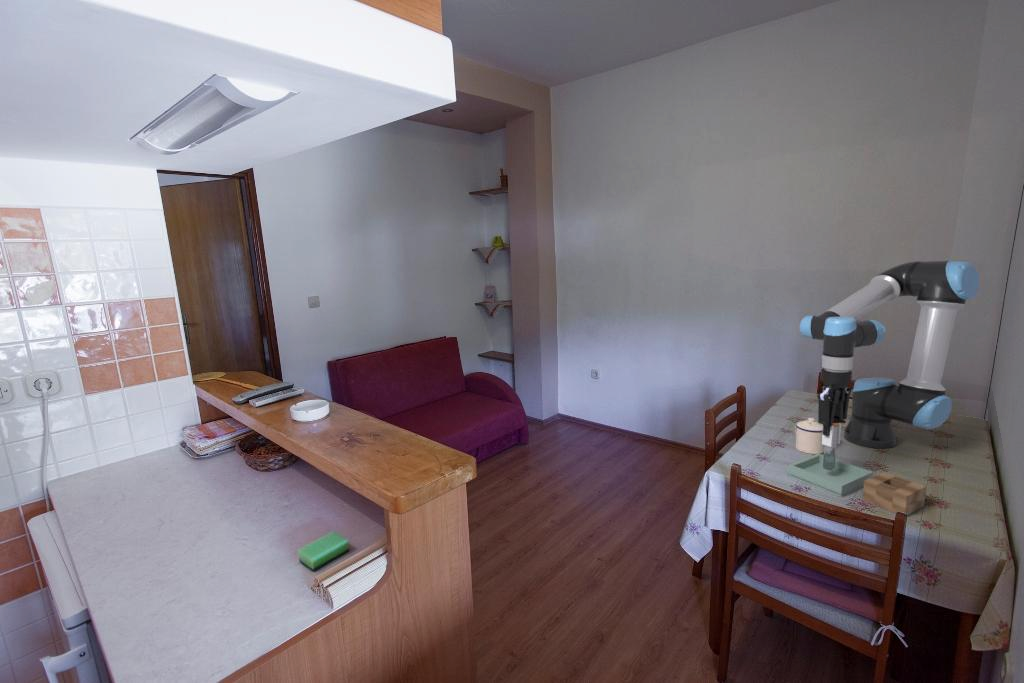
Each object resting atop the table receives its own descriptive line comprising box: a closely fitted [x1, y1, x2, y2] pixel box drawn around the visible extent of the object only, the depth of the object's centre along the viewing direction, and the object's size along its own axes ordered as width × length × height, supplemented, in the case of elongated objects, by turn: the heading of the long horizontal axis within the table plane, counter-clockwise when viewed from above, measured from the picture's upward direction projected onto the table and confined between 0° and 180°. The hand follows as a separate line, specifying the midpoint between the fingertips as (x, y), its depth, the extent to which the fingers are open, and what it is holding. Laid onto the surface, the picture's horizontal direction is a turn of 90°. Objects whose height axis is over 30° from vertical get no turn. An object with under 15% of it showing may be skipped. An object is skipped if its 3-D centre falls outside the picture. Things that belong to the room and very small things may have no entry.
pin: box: [823, 421, 838, 470], centre depth 142 cm, size 3×3×15 cm
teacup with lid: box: [794, 417, 825, 455], centre depth 165 cm, size 12×9×12 cm
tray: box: [786, 453, 874, 498], centre depth 144 cm, size 16×16×4 cm
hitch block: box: [861, 471, 927, 517], centre depth 128 cm, size 10×10×6 cm
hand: (830, 443), depth 142 cm, fingers closed on pin, 3 cm apart
